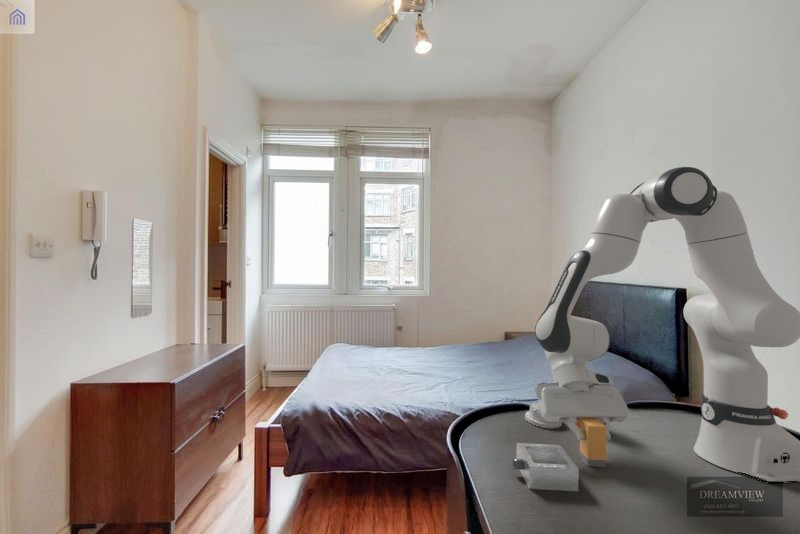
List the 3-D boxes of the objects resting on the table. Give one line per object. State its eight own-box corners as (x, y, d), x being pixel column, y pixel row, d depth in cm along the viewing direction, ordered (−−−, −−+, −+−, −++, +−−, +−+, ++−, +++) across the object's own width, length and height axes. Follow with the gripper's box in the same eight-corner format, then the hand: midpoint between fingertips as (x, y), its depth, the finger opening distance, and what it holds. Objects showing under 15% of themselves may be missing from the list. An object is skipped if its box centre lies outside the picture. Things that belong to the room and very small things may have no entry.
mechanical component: (527, 427, 101) (565, 431, 99) (527, 411, 101) (566, 415, 99) (523, 413, 110) (558, 417, 108) (523, 398, 110) (558, 402, 108)
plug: (597, 457, 85) (597, 419, 85) (605, 467, 81) (606, 426, 81) (579, 456, 85) (580, 418, 85) (587, 466, 81) (588, 426, 81)
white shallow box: (559, 464, 81) (560, 444, 81) (578, 491, 71) (578, 468, 71) (507, 462, 82) (507, 442, 82) (518, 488, 72) (519, 465, 72)
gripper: (537, 376, 89) (554, 434, 80) (617, 377, 90) (644, 434, 80) (529, 388, 94) (545, 444, 84) (606, 389, 94) (631, 444, 85)
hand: (594, 439), depth 82 cm, fingers closed on plug, 4 cm apart
